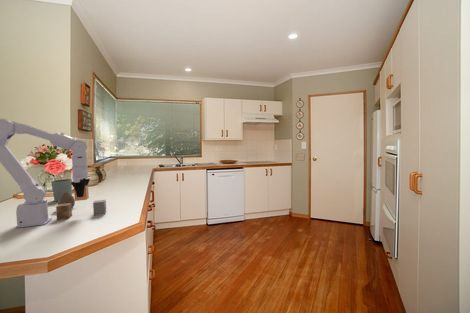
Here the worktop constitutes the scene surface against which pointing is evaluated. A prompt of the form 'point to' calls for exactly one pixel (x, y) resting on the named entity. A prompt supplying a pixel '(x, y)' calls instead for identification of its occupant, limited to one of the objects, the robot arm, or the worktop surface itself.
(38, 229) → the worktop surface
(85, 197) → the terracotta block
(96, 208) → the charcoal block
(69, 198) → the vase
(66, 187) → the teal plant pot
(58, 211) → the walnut block
